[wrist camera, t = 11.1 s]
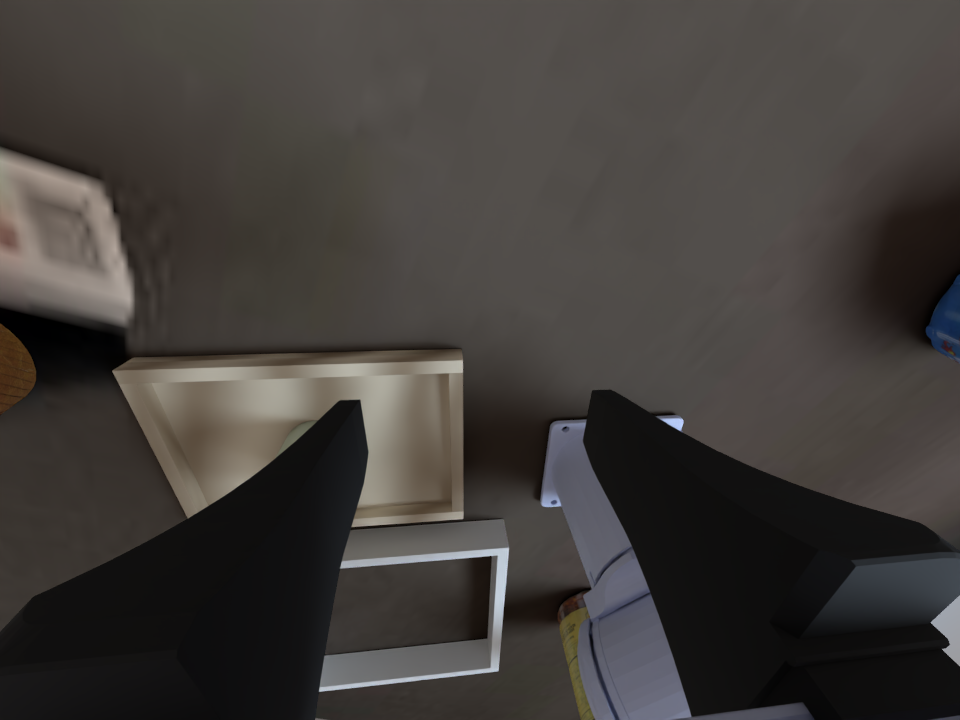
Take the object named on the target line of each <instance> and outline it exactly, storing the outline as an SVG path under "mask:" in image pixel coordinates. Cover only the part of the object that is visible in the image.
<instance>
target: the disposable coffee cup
mask: <svg viewBox="0 0 960 720" xmlns="http://www.w3.org/2000/svg"><path fill="white" fill-rule="evenodd" d="M35 382H36V369H35V366H34V363H33V360H32V358H31V356H30V354H29V352H28V350H27V349H26V348H25V347H24V345H23V344H22V343H21V341H20V340H19V339H18V338H17V337H16V336H15V335H14V334H13V333H11V332H10V331H9V330H8V329H7V328H6V327H4V326H3V325H2V324H0V415H1V414H2V413H3V412H5V411H6V410H8V409H9V408H10V407H12V406H13V405H14V404H16V403H17V402H19V401H20V400H21V399H23V398H24V397H26V396H27V395H28V393H29V392H30V391H31V390H32V388H33V387H34V384H35Z"/></svg>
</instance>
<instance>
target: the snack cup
mask: <svg viewBox="0 0 960 720" xmlns="http://www.w3.org/2000/svg"><path fill="white" fill-rule="evenodd" d="M926 334H927V336H928V337H929V338H931V341H932V346H933V347H934V348H935V349H936V350H938V351H939V352H941V353H942V354H944V355H946V356H947V357H949V358H951V359H952V360H954V361H955V362H957V363H959V364H960V274H959V275H958V276H957V277H956V279H955V281H954V283H953V285H952V286H951V287H950V288H949V290H948V291H947V292H946V293H945V294H944V295H943V297H942V298H941V299H940V301H939V302H938V304H937V306H936V308H935V310H934V312H933V315H932V318H931V322H930V324H929V325H928V326H927V327H926Z"/></svg>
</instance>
